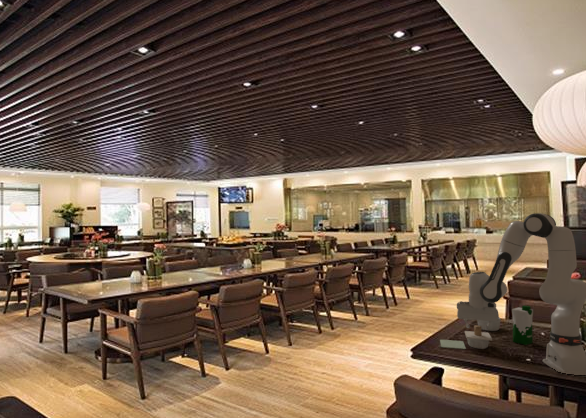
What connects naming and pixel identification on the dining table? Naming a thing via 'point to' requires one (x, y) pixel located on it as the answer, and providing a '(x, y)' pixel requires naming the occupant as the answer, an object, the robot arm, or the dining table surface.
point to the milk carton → (522, 325)
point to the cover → (478, 334)
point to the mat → (452, 344)
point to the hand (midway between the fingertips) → (477, 328)
